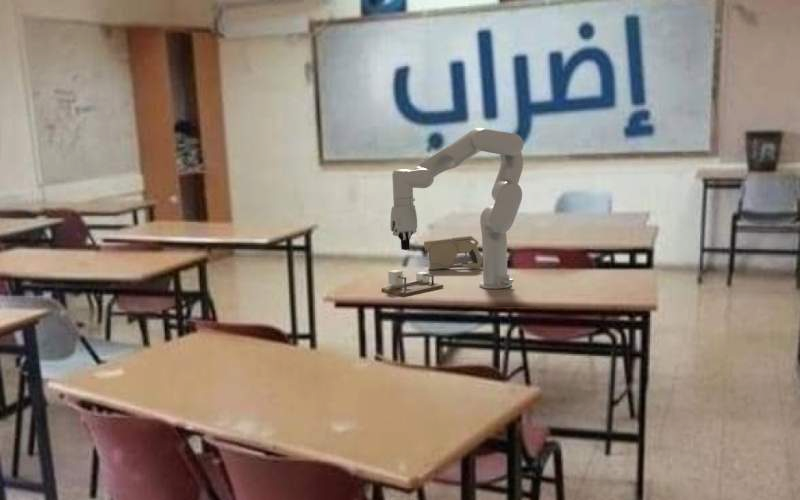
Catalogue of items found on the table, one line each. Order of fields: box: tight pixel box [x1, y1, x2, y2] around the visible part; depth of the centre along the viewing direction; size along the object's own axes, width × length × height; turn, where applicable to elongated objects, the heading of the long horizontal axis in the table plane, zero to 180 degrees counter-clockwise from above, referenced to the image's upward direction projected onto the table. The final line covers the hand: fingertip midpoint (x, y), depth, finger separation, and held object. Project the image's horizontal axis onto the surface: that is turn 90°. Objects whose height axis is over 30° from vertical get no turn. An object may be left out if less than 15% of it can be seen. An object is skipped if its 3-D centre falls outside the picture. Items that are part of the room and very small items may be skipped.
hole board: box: [381, 281, 444, 297], centre depth 314 cm, size 14×20×1 cm
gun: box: [423, 235, 483, 271], centre depth 350 cm, size 24×3×15 cm, turn 84°
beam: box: [387, 271, 435, 290], centre depth 315 cm, size 8×19×4 cm, turn 128°
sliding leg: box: [387, 269, 407, 289], centre depth 311 cm, size 8×4×6 cm, turn 38°
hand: (405, 249), depth 306 cm, fingers closed
